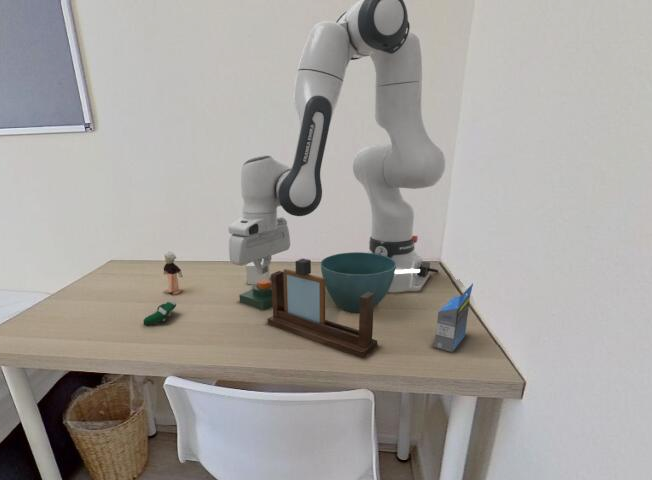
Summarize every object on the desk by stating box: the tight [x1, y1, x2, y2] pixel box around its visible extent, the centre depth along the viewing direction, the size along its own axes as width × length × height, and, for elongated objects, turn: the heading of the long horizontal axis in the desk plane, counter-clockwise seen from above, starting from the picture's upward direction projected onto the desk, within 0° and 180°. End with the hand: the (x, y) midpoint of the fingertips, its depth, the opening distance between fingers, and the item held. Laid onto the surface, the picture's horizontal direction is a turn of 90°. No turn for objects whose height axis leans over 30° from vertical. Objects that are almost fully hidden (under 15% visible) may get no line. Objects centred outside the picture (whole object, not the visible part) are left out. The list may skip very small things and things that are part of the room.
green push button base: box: [238, 283, 273, 311], centre depth 109 cm, size 11×9×4 cm
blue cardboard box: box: [433, 283, 474, 353], centre depth 81 cm, size 9×4×12 cm, turn 140°
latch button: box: [258, 279, 271, 289], centre depth 108 cm, size 4×4×2 cm
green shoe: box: [143, 298, 177, 326], centre depth 100 cm, size 9×4×6 cm
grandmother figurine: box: [162, 251, 183, 295], centre depth 116 cm, size 8×4×13 cm, turn 68°
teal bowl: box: [320, 251, 396, 315], centre depth 100 cm, size 18×18×12 cm
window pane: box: [282, 258, 326, 324], centre depth 88 cm, size 2×11×15 cm, turn 48°
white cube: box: [245, 259, 271, 285], centre depth 123 cm, size 6×6×6 cm
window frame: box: [266, 270, 379, 359], centre depth 87 cm, size 6×26×12 cm, turn 48°
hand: (262, 272), depth 107 cm, fingers closed
